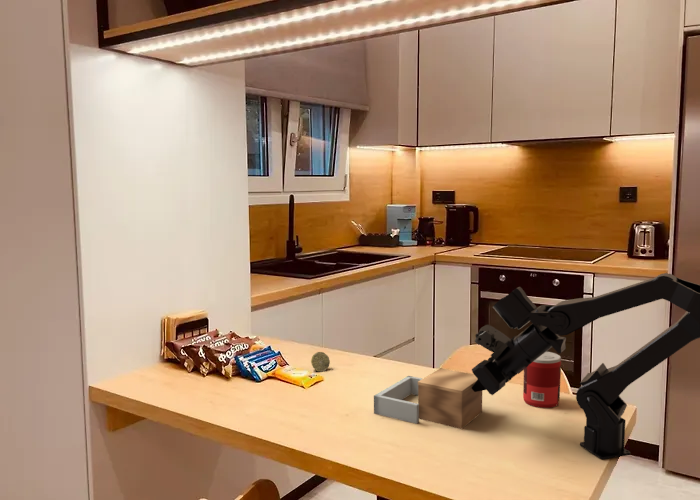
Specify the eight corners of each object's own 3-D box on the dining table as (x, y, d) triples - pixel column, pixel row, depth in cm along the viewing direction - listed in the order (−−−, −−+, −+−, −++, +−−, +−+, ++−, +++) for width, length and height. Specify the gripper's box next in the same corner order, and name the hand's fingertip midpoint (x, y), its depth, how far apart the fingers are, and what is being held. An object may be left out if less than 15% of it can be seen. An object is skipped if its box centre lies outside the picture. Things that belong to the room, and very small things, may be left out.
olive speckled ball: (331, 369, 164) (331, 351, 163) (321, 374, 160) (321, 355, 159) (318, 366, 166) (317, 348, 165) (307, 371, 162) (307, 353, 161)
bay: (448, 400, 140) (448, 383, 140) (416, 423, 127) (416, 405, 126) (408, 391, 146) (408, 375, 145) (373, 413, 133) (373, 395, 132)
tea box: (482, 412, 133) (483, 375, 132) (461, 429, 124) (462, 391, 123) (440, 402, 139) (440, 368, 138) (417, 418, 130) (417, 381, 129)
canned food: (566, 406, 136) (567, 359, 134) (533, 409, 134) (535, 361, 133) (548, 395, 143) (549, 349, 142) (517, 397, 141) (518, 352, 140)
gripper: (515, 306, 130) (466, 348, 138) (483, 324, 115) (429, 370, 122) (551, 348, 127) (498, 388, 134) (522, 372, 111) (465, 416, 119)
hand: (473, 389), depth 127 cm, fingers closed, pressing on tea box
